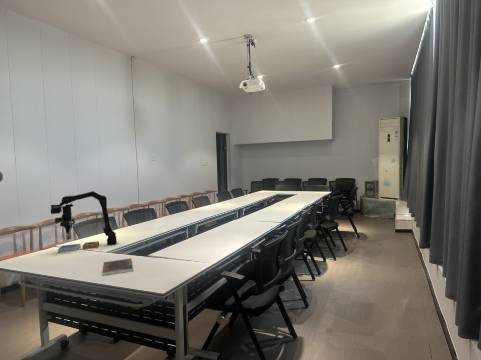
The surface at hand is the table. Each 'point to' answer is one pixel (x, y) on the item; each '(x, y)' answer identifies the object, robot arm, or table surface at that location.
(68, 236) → the pin
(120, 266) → the picture frame
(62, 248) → the tray
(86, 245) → the socket block
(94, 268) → the table surface
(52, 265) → the table surface
